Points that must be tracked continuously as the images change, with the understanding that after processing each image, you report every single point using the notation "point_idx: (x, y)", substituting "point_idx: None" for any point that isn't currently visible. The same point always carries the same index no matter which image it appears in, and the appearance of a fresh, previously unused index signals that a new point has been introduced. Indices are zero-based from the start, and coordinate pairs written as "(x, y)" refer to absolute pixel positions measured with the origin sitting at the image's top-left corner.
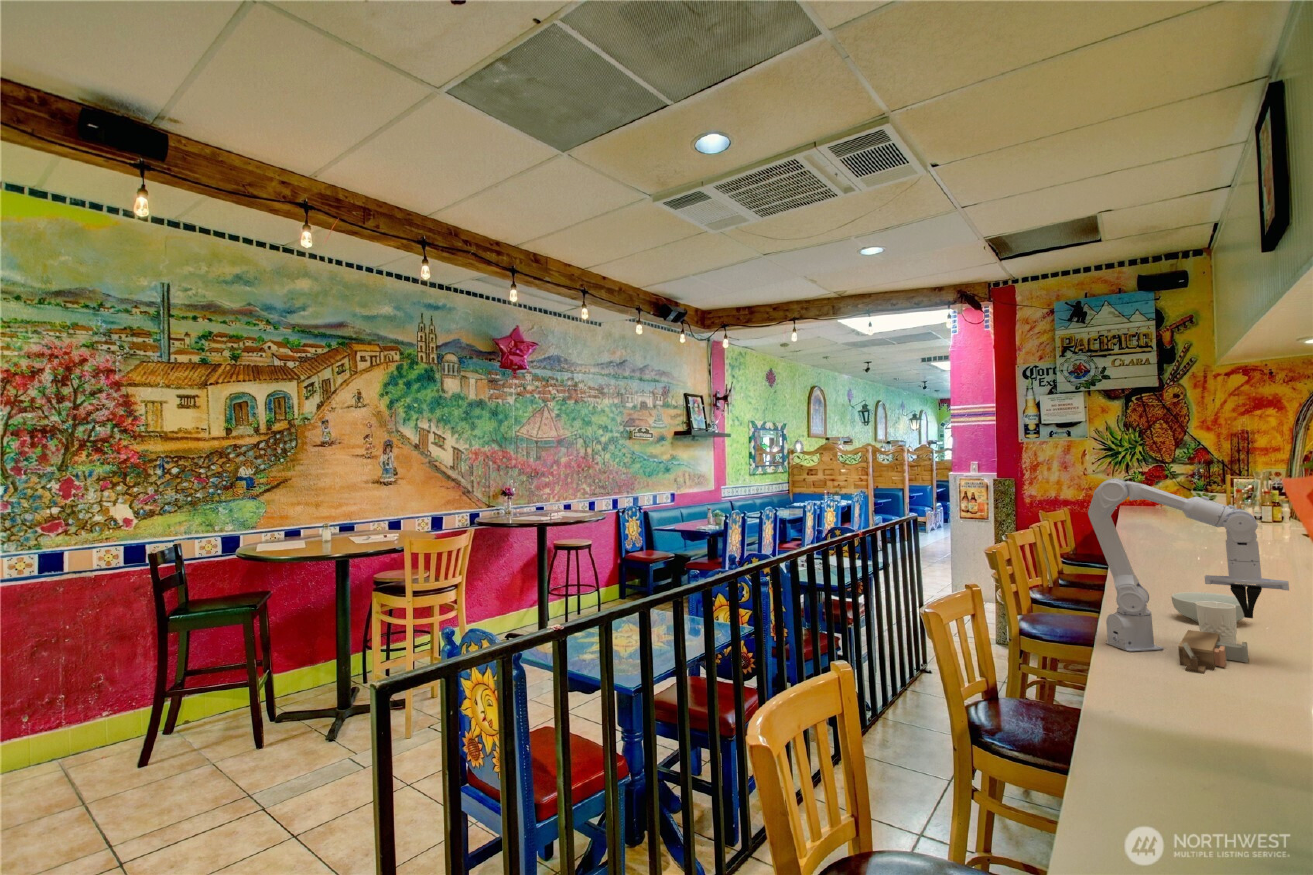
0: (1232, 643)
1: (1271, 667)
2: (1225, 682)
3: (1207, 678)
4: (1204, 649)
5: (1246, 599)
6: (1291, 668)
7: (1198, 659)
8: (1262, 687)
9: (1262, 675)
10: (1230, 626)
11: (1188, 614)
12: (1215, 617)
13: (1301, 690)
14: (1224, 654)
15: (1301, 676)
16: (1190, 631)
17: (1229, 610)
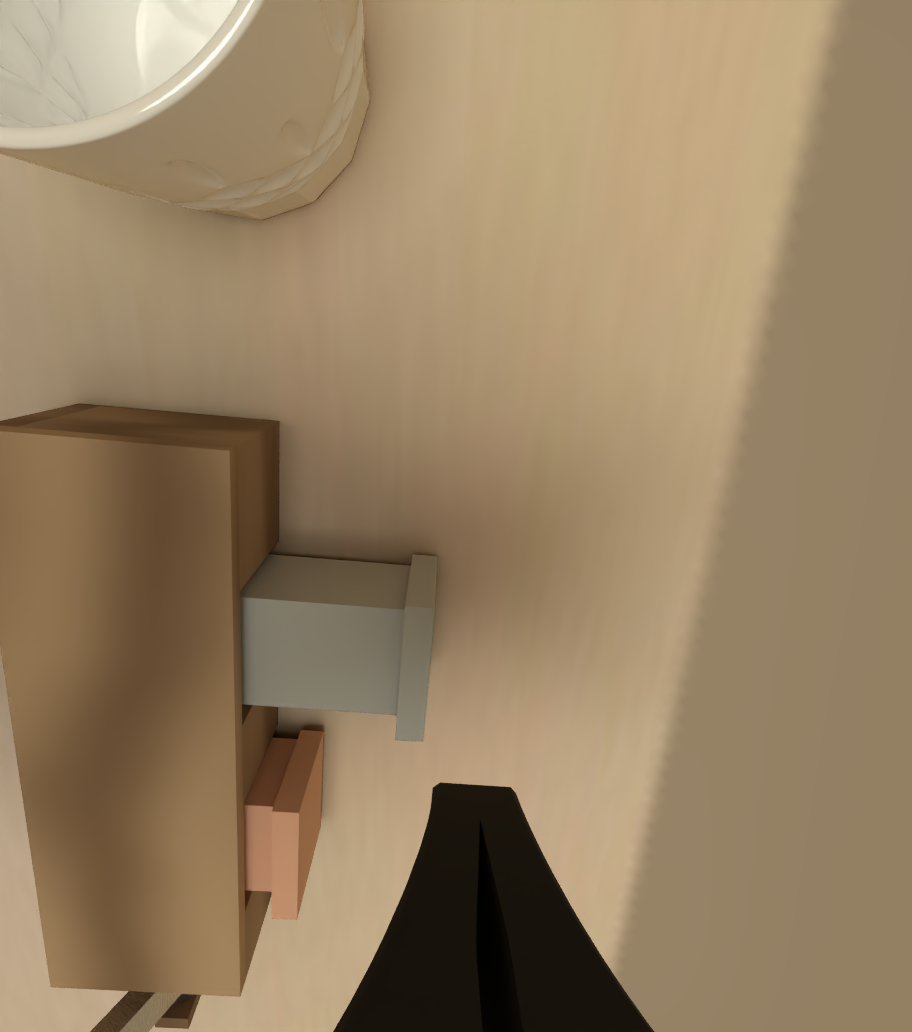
0: (340, 608)
1: (540, 671)
2: (333, 1023)
3: (263, 1006)
4: (198, 992)
5: (477, 1014)
6: (638, 636)
7: None
8: None
9: None
10: (299, 138)
11: None
12: (110, 183)
13: None
14: (306, 846)
15: (653, 773)
16: (3, 493)
17: (236, 79)
